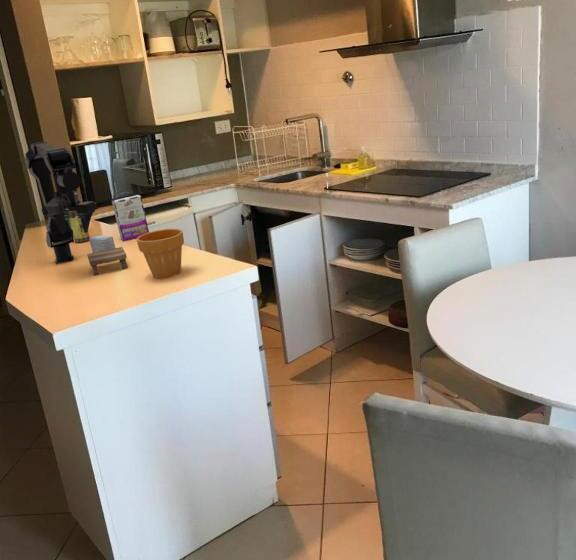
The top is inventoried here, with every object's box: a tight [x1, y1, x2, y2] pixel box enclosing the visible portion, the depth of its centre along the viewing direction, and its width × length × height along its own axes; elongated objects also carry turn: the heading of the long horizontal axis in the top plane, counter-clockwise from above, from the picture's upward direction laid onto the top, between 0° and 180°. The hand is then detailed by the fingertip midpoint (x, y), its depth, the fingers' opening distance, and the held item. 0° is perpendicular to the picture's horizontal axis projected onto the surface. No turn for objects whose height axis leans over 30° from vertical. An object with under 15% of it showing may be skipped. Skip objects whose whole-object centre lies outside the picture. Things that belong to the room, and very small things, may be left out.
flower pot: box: [136, 228, 185, 279], centre depth 197 cm, size 14×14×13 cm
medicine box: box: [88, 235, 116, 253], centre depth 225 cm, size 8×4×9 cm, turn 58°
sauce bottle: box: [68, 192, 90, 244], centre depth 258 cm, size 6×6×20 cm
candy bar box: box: [111, 194, 150, 242], centre depth 253 cm, size 11×5×16 cm, turn 118°
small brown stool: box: [86, 246, 128, 276], centre depth 214 cm, size 12×12×5 cm
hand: (75, 233), depth 211 cm, fingers open, 9 cm apart
